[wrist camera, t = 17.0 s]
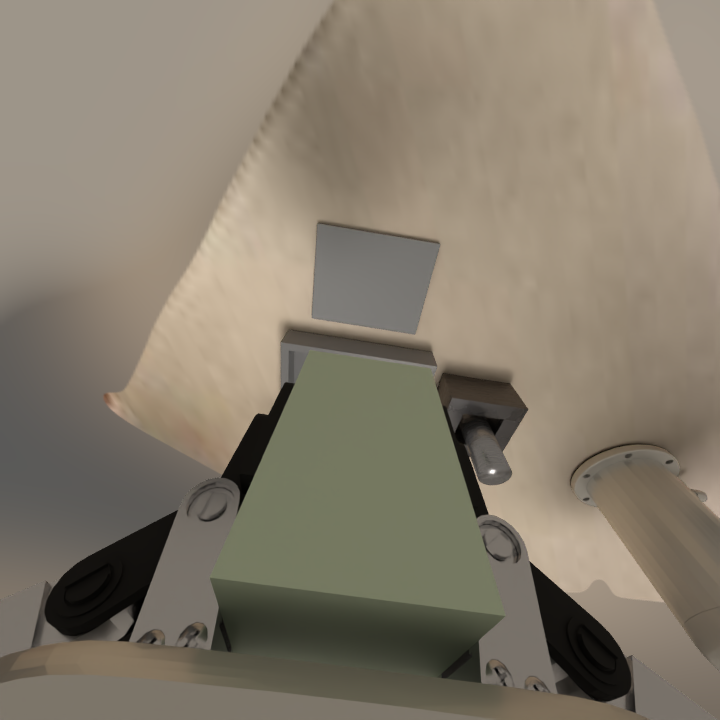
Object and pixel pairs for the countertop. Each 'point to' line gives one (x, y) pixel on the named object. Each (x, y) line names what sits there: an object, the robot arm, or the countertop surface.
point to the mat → (371, 278)
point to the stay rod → (484, 450)
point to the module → (358, 529)
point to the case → (343, 352)
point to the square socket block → (482, 405)
